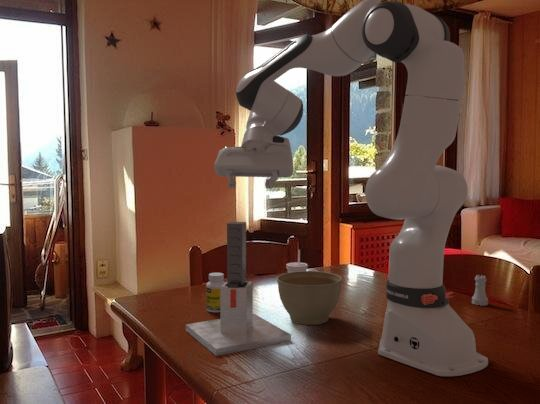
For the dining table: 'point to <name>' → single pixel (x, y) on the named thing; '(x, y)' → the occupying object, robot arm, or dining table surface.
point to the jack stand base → (236, 324)
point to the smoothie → (296, 265)
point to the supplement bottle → (214, 292)
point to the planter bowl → (309, 295)
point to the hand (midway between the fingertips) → (249, 186)
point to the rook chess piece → (480, 291)
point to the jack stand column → (236, 253)
